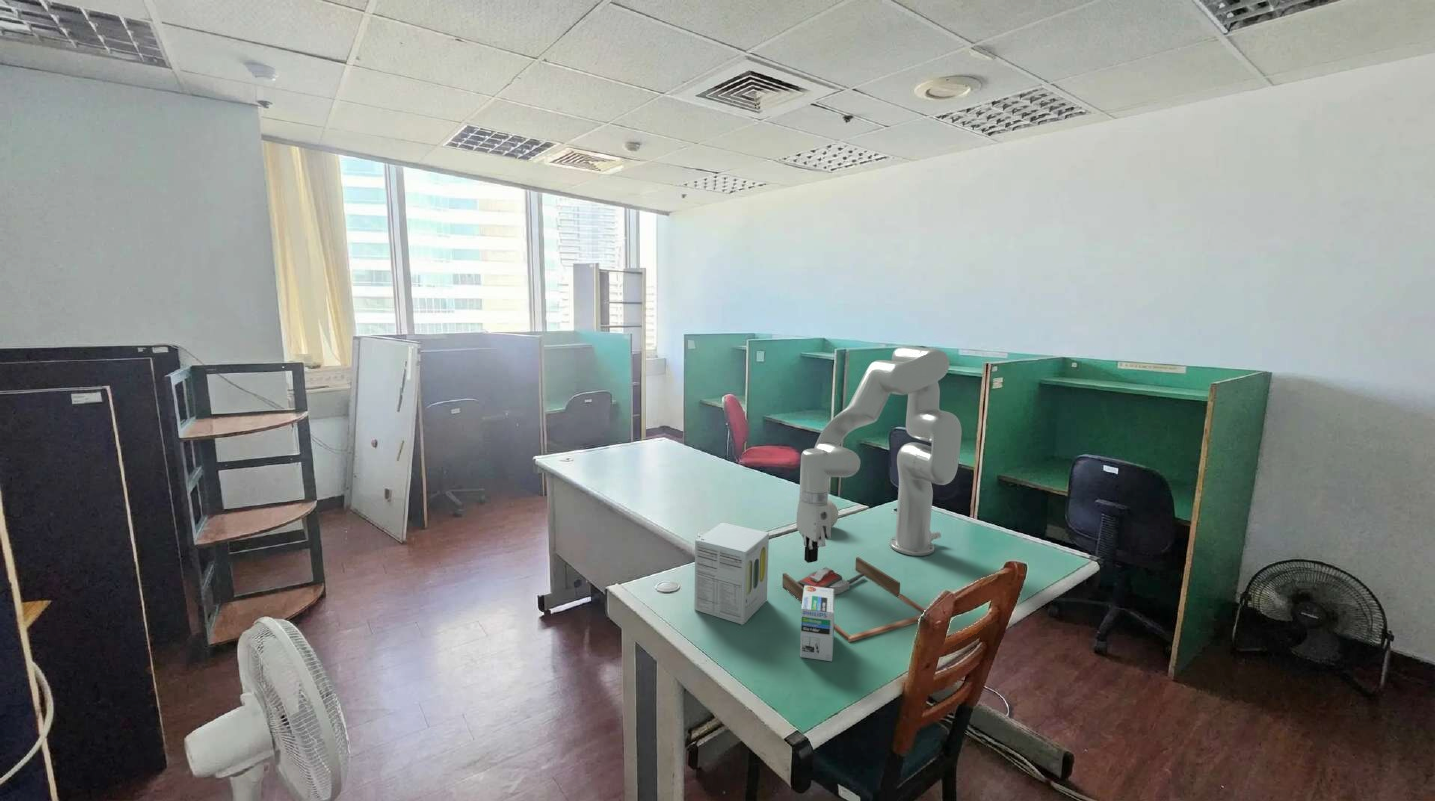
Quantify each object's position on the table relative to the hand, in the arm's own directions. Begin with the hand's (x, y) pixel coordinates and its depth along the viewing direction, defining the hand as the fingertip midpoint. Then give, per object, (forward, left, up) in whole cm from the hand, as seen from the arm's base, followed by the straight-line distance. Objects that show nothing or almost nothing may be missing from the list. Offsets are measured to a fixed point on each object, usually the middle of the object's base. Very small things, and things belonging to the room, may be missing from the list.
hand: (810, 560), depth 157 cm
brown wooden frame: (0, +19, -3) cm, 19 cm away
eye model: (-20, -23, -3) cm, 31 cm away
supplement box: (+28, +8, -3) cm, 29 cm away
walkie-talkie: (0, +10, -3) cm, 10 cm away
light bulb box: (+19, +30, -3) cm, 36 cm away
